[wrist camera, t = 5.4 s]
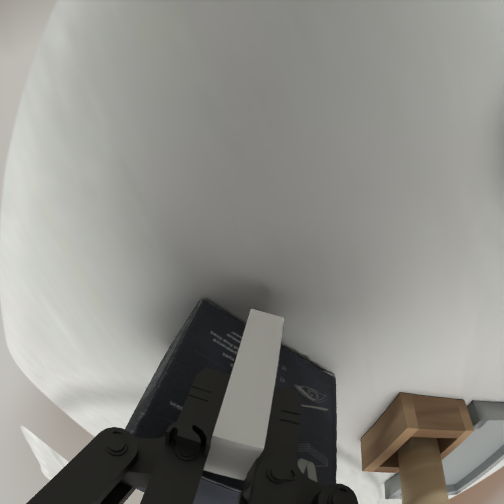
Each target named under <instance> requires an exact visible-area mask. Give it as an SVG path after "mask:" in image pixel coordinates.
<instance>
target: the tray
mask: <svg viewBox="0 0 504 504" xmlns="http://www.w3.org/2000/svg"><path fill="white" fill-rule="evenodd" d="M467 410H468V413H469V416H470V419H471V422H472V425H473V428H474V432H473V433H472V434H471V435H469V436H468V437H467V438H466V439H465V440H464V441H463V442H462V443H461V444H460V445H459V446H458V447H457V448H455V449H454V450H453V451H452V452H451V453H450V454H449V455H447V456H446V457H445V458H444V459H443V460H442V465H443V470H444V476H445V481H446V487H447V493H448V495H454V494H458V493H459V492H461V491H462V490H464V489H465V488H467V487H468V486H469V485H471V484H472V483H474V482H475V481H476V480H478V479H479V478H480V477H482V476H483V475H484V474H485V473H487V472H488V471H489V470H491V469H492V468H493V467H494V466H495V465H497V464H498V463H499V462H500V461H501V460H503V459H504V402H485V401H472V402H471V403H470V404H469V406H468V407H467ZM385 498H386V499H402V493H401V482H400V473H397V474H395V475H394V476H393V477H392V478H390V479H389V480H388V481H387V482H385Z"/></svg>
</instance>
